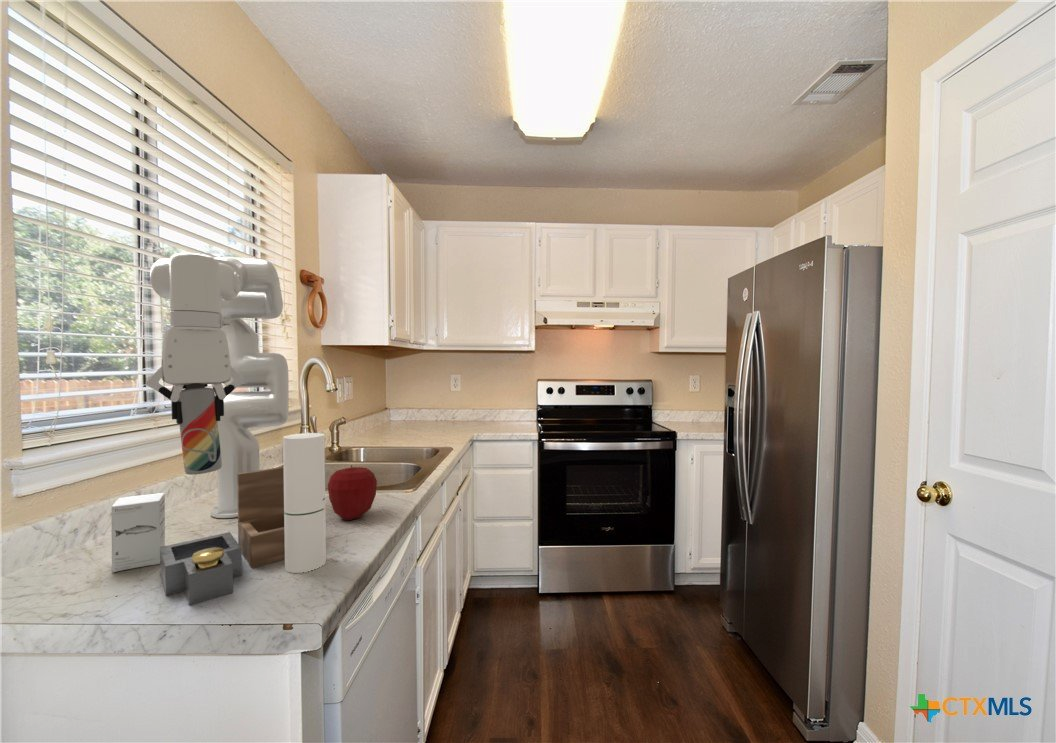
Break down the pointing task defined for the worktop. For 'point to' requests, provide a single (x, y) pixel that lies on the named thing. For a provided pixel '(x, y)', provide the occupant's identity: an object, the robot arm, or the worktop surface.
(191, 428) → the lotion bottle
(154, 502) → the supplement box
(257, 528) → the rack
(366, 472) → the apple
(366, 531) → the worktop surface
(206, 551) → the pin
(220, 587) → the socket
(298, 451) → the cylindrical container
